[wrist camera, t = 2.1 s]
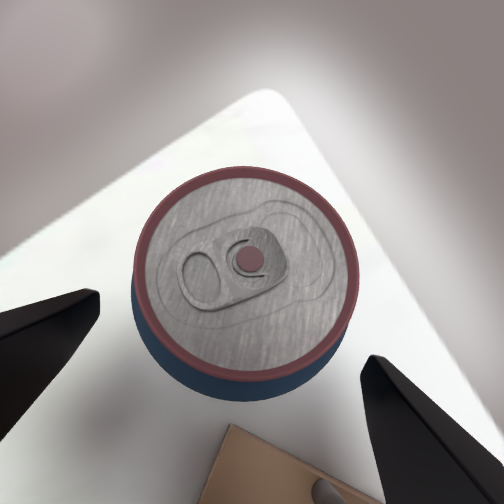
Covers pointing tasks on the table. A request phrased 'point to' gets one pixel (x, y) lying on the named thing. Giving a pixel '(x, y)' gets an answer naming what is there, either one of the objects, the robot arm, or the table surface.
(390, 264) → the table surface
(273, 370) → the soda can
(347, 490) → the walnut cradle
